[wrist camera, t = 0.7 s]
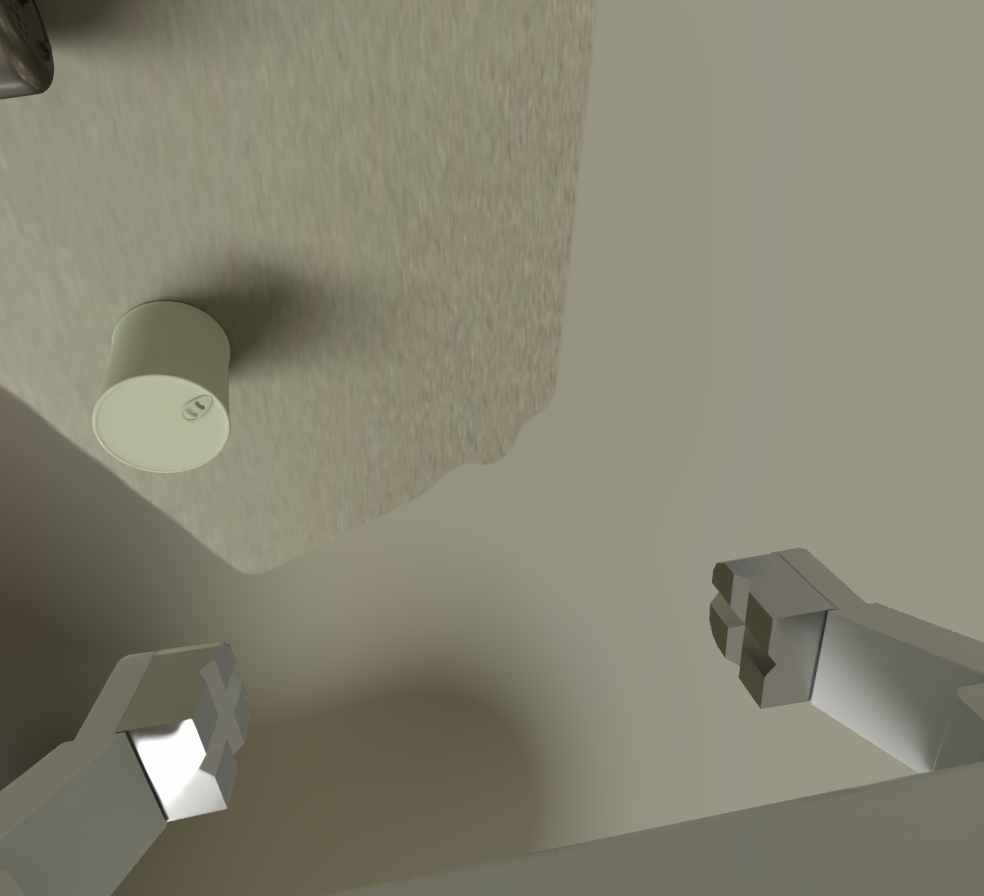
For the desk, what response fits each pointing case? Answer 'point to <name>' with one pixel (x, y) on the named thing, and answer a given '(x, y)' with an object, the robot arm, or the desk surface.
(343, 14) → the desk surface
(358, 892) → the robot arm
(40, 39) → the alarm clock
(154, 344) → the can
